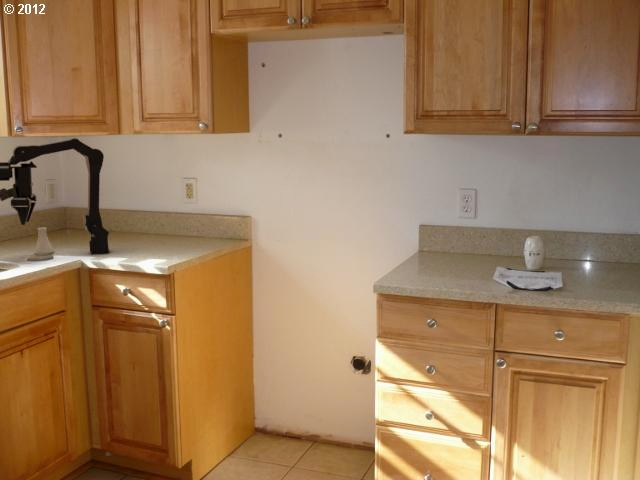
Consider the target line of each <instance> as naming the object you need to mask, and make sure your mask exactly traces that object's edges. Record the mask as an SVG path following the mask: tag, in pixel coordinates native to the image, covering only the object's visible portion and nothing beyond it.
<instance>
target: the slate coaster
mask: <svg viewBox="0 0 640 480" xmlns="http://www.w3.org/2000/svg"><path fill="white" fill-rule="evenodd" d="M26 259H27V261H29V262H44V261H50V260H53V259H54V255H53V254H43V255H36V254H33V255H29V256H27V258H26Z"/></svg>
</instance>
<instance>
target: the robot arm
mask: <svg viewBox="0 0 640 480" xmlns="http://www.w3.org/2000/svg"><path fill="white" fill-rule="evenodd" d="M69 150H74V151H76V152H77V153H79V154H80V155H81V156H82V157H84V160H85V165H86V168H87V172H88V173H87V174H88V177H87V179H88V180H87V181H88V183H87V186H88V187H87V209H86V210H87V211H86V213H82V223H81V224H82V225H83V228H84V229H85V230H86V231H87V232H88V233H89V234H90V240H89V252H90V254H91V255H96V254H98V255H99V254H109V253H110V246H109V235H110V234H109V233H110V232H109V230H107V229H106V228H104V226H103V223H102V222H103V221H102V217H101V212H100V184H101V183H100V177H101V176H100V173H101V169H102V167H103V164H104V160H105V159H104V157H105V156H104V153H103V152H102V151H101V150H100V149H98V148H92V147H91V146H89V145H87V144H86V143H84V142H82V141H80V140H79V138H76V137H75V138H74V137H71V138H69V139H64V140H58V141H54V142H49V143H45V144H44V143H43V144H39V145H38V144H25V145H23V144H21V145H20V144H19V145H17V146H15V147H14V149H13V150H12V155H11V157H10V159H8V161H6V162H4V161H3V162H0V182H5V181H7V182H8V181H10V179H13V177H14V183H13V184H12V187H11V188H9V189H7V188H5V187H4V188H1V189H0V201H1V202H4V201H6V200H8V199H11V198H12V199H11V200H10V206H11V208H12V209H13V210H15V211H16V212H17V215H18V218H19V221H20V224H21V225H22V226H25V225H26V223H29V222H30V219H31V217H32V215H33V212H34V209H35V207H36V204H37V201H38V197H37V194H35V193H33V186H34V182H33V181H32V179H33V178H32V169H36V168H37V165H36V164H35V163H33V161H32V160H34V159H36V158H37V157H38V158H39V157H40V156H43V155H48V154H49V155H50V154H55V153H60V152H65V151H69ZM28 161H29V163H28ZM26 162H27V163H26ZM18 164H20V165H18ZM13 171H14V172H13Z"/></svg>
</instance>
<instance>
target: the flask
mask: <svg viewBox="0 0 640 480" xmlns="http://www.w3.org/2000/svg"><path fill="white" fill-rule="evenodd" d="M36 229H37V230H38V231H37V232H38V235H37V242H36V245H35V247H34V250H33V255H43V254H49V255H52V254H53V253H55V250H54V247H53V246H52V244H51V242H50V239H49V238H48V234H47V229H48V228H47V227H38V228H36Z"/></svg>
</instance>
